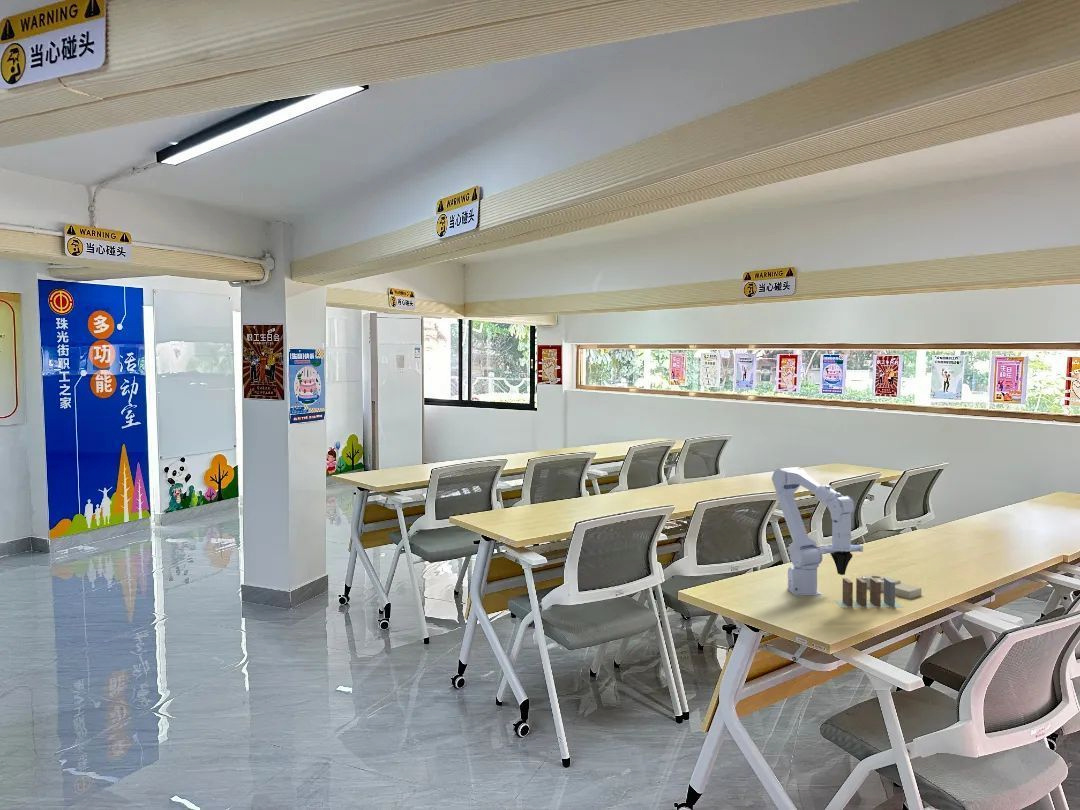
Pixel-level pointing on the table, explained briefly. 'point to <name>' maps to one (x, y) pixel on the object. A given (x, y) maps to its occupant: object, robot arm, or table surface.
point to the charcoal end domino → (889, 592)
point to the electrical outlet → (900, 588)
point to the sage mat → (869, 604)
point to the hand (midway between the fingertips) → (841, 574)
